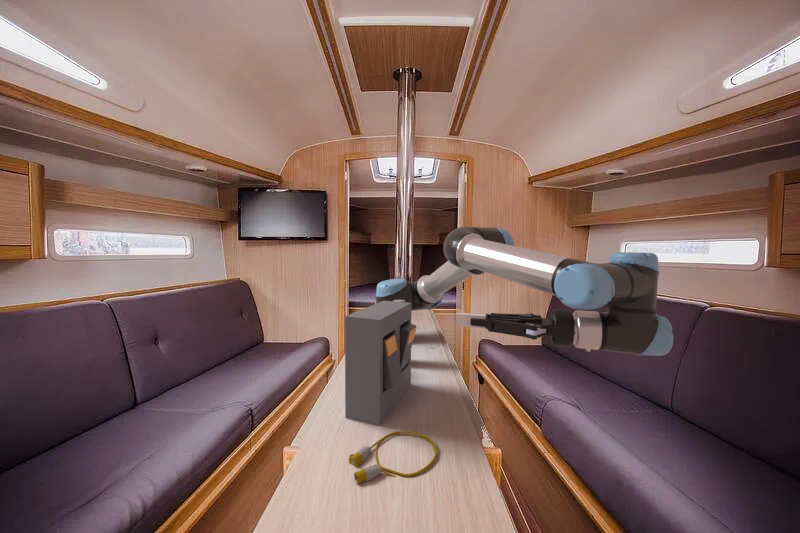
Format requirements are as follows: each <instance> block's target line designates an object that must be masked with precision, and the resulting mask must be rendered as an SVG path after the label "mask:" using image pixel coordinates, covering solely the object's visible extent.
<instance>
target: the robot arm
mask: <svg viewBox="0 0 800 533" xmlns="http://www.w3.org/2000/svg"><path fill="white" fill-rule="evenodd" d="M443 254H444V256H445V258H446V260H447V261H446V262H445V263H443V264H442V265H441V266H439V267H438V268H437V269H436V270H435V271H434V272H432V273H431V274H430V275H428V274H426V275H422V276H421V277H419V278H418V279H416V281H407V280H406V279H404V278H389V279H386V280H382V281H380V282H378V283H377V285H376V292H375V297H376V298H375V300H376V301H375V304H377V303H379V302H381V301H393V300H405V302H408V303H412V312H413V311H421V310H422V311H423V310H432V309H435V308H438V307H439V306H440V305H441V303H442V300H443V297H444V294H445V293H447V292H448V291H449V290H451V289H453V288H454V287H455V286H457V285H459V284H460V283H462V282H463V281H465V280H466V279H467V278H469V277H471V276H473V275H474V276H479V275H483V274H484V273H487V274H490V275H493V276H496V277H499V278H502V279H505V280H508V281H511V282H514V283H517V284H520V285H523V286H526V287H529V288H532V289H533V290H538V291H540V292H544V293H545V294H546V293H547V294H548V295H552V296H555V297H557V298H558V300H560V302H561V303H562V304H563V305H564V306H566V307H568V308H570V309H573V310H574V312H573V311H572V310H570V309H561V308H560V309H559V308H557V309H556V308H555V309H554V308H553V309H552V310H551V312H550V317H549V318H546V317H542V315H540V314H533V313H497V312H496V313H495V312H491V313H490V314H489V313H485V314H480V313H478V314H477V313H467V312H456V313H455V315H456V316H455V326H456V327H457V326H458V327H467V328H469V327H470V328H477V329H485V330H487V331H488V332H490V333H497V334H503V335H509V336H516V337H521V338H522V337H523V338H527V339H531V340H535V341H536V340H537V339H538V338H542V337H549V339H550V344H551V345H552V346H554V347H561V348H571V347H575V348H577V349H585V351H586V352H589V353H590V352H591V350H594V351H606V352H612V353H622V354H629V355H636V356H653V357H654V356H659V357H662V356H665V355H667V354H669V353H670V351H671V350H672V348H673V344H674V334H673V327H672V323H671V321H669V319H668V318H667V317H665V316H661V315H658V314H657V301H658V300H657V298H658V284H659V275H660V270H659V257H658V255H657V254H656V253H654V252H637V251H636V252H633V251H632V252H629V251H628V252H627V251H624V252H612V253H611V254H610V256H609V259H608V263H596V262H590V261H585V260H580V259H575V258H571V257H566V256H562V255H556V254H552V253H548V252H543V251H539V250H534V249H529V248H525V247H521V246H520V247H519V246H515V241H514V238H513V237H512V234H511V233H510V232H509V231H508V230H506V229H504V228H499V227H483V226H482V227H481V226H480V227H479V226H461V227H457V228H455V229H453V230H451V232H449V233H448V234H447V236H446V237H445V239H444V242H443ZM605 307H606V308H607V311H606V312H605V311H603V312H601V311H594V310H597V309H600V308H605ZM592 310H593V311H592Z"/></svg>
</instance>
